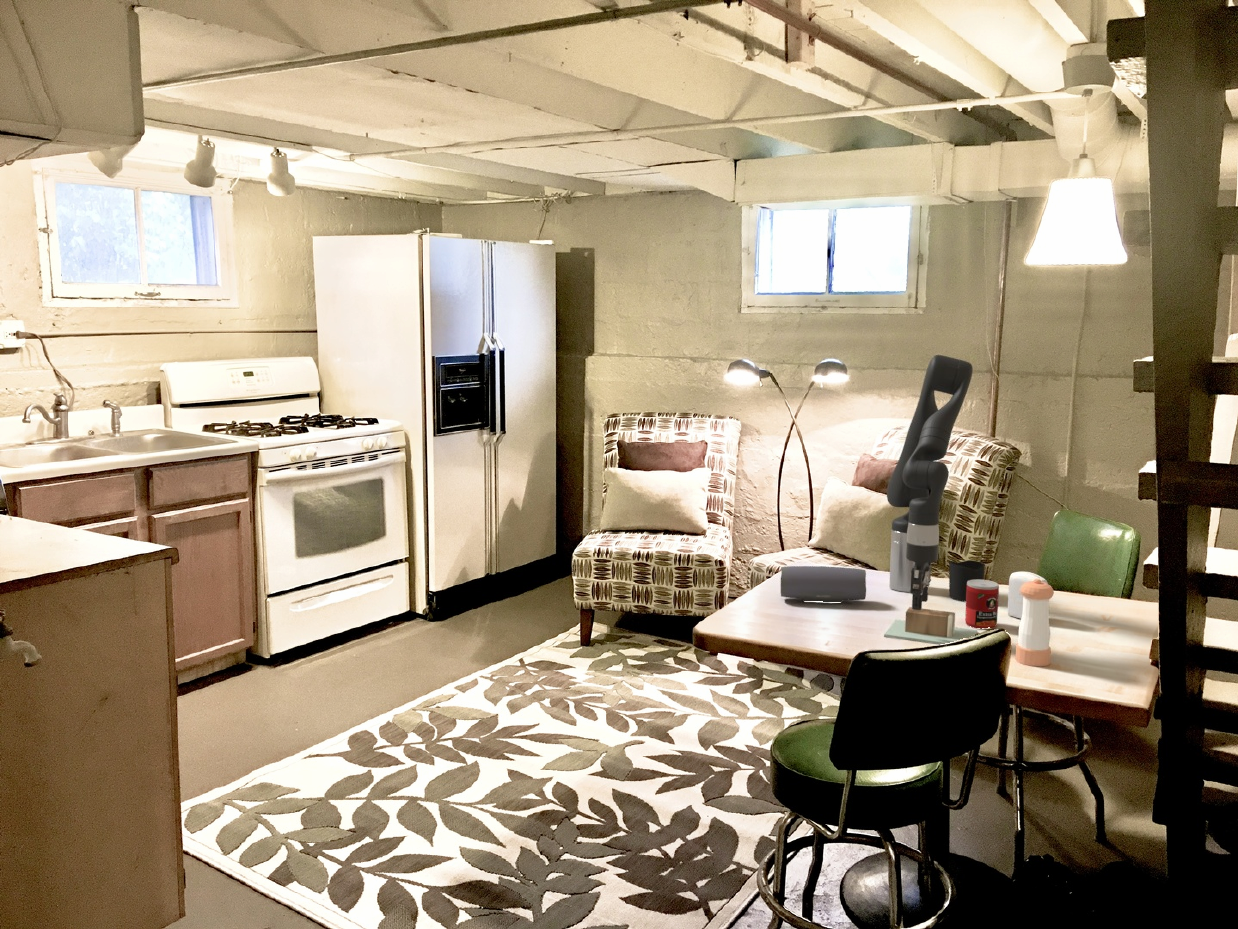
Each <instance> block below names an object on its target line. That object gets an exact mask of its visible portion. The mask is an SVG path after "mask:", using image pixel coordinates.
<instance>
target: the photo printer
mask: <svg viewBox="0 0 1238 929" xmlns="http://www.w3.org/2000/svg"><path fill="white" fill-rule="evenodd" d="M1034 579H1040V580H1041V582H1044V583H1046V584H1048V585H1049V583H1048V580H1046V578H1044V577H1043V576H1040V575H1038V574H1036V573H1034V572H1030V571H1015V572H1012V573H1011V574H1010V576H1009V579H1008V594H1007V595H1008V597H1007V615H1008V616H1010V617H1014V618H1017V619H1020V620H1021V618H1022V613H1023V598H1024V596H1023V595H1022V594H1021V592H1020V588H1021V586H1022V585H1023V584H1024V583H1026V582H1029V581H1034Z"/></svg>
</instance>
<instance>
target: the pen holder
mask: <svg viewBox="0 0 1238 929" xmlns="http://www.w3.org/2000/svg"><path fill="white" fill-rule="evenodd" d="M948 565H949V566H948V567H949V568H948V569H949V570H948V571H949V572H948V575H949V579H948V581H949V582H948V584H949V586H948V588H949V590H948V594H949V598H950V599H952V600H955V601H957V602H964V601H966V591H967V582H968V581H969V580H975V579H981V580H985V571H986V570H985V568H986V564H985V562H982V561H979V560H972V559H968V560H964V561H963V560H962V561H960V562H959V561H958V562H955V561H953V560H950V561H949V564H948Z"/></svg>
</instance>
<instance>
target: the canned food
mask: <svg viewBox="0 0 1238 929" xmlns="http://www.w3.org/2000/svg"><path fill="white" fill-rule="evenodd" d="M999 586H1000V584H999V583H997V582H996V581H992V580H988V579H984V580H981V579H975V580H969V581H968V582H967V591H966V602H965V613H964V614H965V616H964V618H965V619H964V621H965V624H966V625H967V626H968V627H970V626H971V627H970V628H973V627H974V628H973V629H977V628H980V629H979V630H983V629H982V628H988V627H990V628H993V629H995V628H996V627H997V625H998V624H997V623H998V613H999V610H998V609H999V594H1000V593H999V592H1000V587H999Z"/></svg>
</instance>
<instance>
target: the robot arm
mask: <svg viewBox="0 0 1238 929" xmlns="http://www.w3.org/2000/svg"><path fill="white" fill-rule="evenodd" d="M973 370H974V369H973V365H972V363H970V362H969V361H967V360H962V359H958V358H955V357H950V356H946V355H944V354H943V355H942V354H936V355H933V357H932V358H931V359H930V361H929V363H928V366H927V369H926V371H925V375H924V379H923V382H922V387H921V391H920V395H919V399H918V401H917V406H916V408H915V411H914V414H913V417H912V418H911V421H910V424H909V427H908V430H907V433H906V437H905V440H904V444H903V446H902V450H901V452H900V456H899V458H898V461H897V463H896V465H895V468H894V470H893V472H892V474H891V477H890V478H889V480H888V483H887V484H888V485H887V487H886V488H887V490H886V498H887V502H888V504H889V505H890V506H892V507H894V508H908V511H907V512H906V513H905V514H903V515H900V516H898V517H896V518H893V520H892V522H891V532H890V534H891V538H890V540H891V542H890V559H889V560H890V563H889V589H890V590H891V589H892V590H894V591H898V592H907V593H908V592H909V593H910V594H911V595H912V599H911V600H912V601H911V607H912V609H914V610H921V609H923V603H926V602H928V598H929V587H930V583H931V581H932V579H931V576H932V574H931V573H932V563H937V561H938V560H939V546H940V545H939V542H940V539H939V538H940V529H939V523H940V522H939V520H940V505H941V501H942V498H943V494H944V491H945V488H946V486H947V483H948V480H949V477H950V476H949V475H950V473H949V468H948V466H947V465H946V464H945V463H944V462H942V461H939V460H942V459H944V458H945V457H946V455H947V451H948V447H949V445H950V444H949V443H950V440H951V436H952V431H953V429H954V426H955V422H956V421H957V418H958V416H959V414H960V411H961V409H962V406H963V404H964V400H965V398H966V396H967V394H968V393H967V392H968V390H969V387H970V384H971V380H972V377H973V372H974V371H973ZM935 391H936V392H939V393H940V392H941V393H944V394H947V395H951V398H950V399H949V401H947V403H946V404H944V405H943V406H942V407H940V408H938V405H937V402H936V398H935V397H936V396H935ZM929 492H930V493H929Z"/></svg>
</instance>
